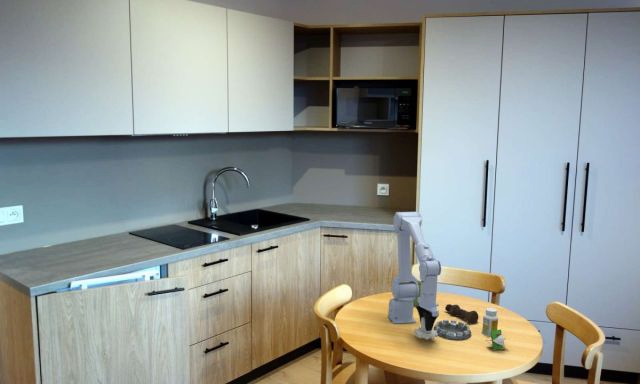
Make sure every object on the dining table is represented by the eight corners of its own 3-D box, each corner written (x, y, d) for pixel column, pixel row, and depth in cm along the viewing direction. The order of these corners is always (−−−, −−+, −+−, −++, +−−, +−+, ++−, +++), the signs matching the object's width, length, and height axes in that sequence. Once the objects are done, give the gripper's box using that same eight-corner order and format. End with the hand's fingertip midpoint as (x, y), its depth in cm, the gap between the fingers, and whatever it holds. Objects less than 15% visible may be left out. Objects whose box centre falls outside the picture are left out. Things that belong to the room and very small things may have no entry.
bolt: (448, 315, 225) (474, 327, 212) (440, 311, 223) (467, 322, 210) (453, 303, 226) (480, 313, 213) (446, 298, 224) (473, 309, 211)
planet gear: (419, 340, 190) (420, 323, 189) (410, 330, 198) (411, 314, 197) (441, 338, 192) (442, 322, 191) (431, 329, 200) (432, 313, 199)
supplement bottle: (496, 332, 204) (498, 308, 203) (496, 337, 199) (498, 313, 198) (482, 330, 206) (484, 306, 205) (481, 335, 201) (483, 310, 200)
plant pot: (431, 302, 235) (432, 283, 234) (426, 309, 226) (427, 289, 225) (410, 298, 239) (411, 280, 237) (405, 305, 230) (406, 286, 229)
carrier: (442, 341, 194) (443, 335, 194) (427, 326, 208) (428, 320, 208) (477, 339, 197) (478, 332, 197) (460, 324, 211) (460, 318, 211)
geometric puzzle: (480, 337, 194) (489, 325, 188) (495, 335, 196) (505, 324, 190) (488, 355, 189) (498, 344, 184) (504, 353, 191) (515, 342, 186)
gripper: (447, 298, 186) (444, 335, 188) (430, 285, 200) (428, 319, 202) (428, 299, 185) (426, 336, 187) (413, 286, 199) (411, 320, 201)
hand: (426, 327), depth 194 cm, fingers closed on planet gear, 4 cm apart
